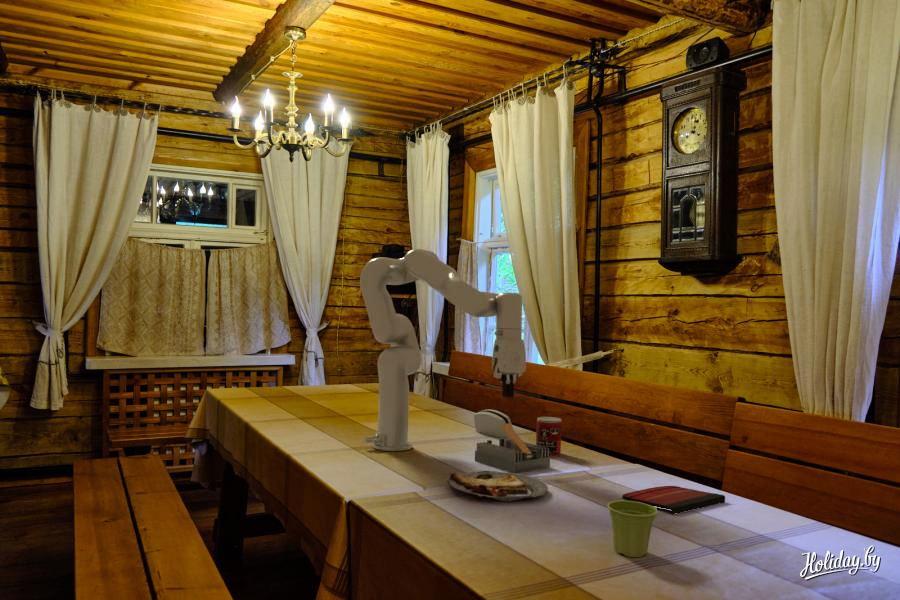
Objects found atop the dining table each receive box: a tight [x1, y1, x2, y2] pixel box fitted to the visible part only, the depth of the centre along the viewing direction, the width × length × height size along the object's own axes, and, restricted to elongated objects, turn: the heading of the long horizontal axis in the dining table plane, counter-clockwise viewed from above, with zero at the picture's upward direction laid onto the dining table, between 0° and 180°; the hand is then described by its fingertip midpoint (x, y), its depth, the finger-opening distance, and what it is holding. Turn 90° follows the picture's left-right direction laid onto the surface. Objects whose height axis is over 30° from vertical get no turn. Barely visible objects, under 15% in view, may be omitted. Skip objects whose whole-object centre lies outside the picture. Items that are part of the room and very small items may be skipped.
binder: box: [621, 485, 726, 515], centre depth 174 cm, size 16×2×21 cm
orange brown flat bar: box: [501, 423, 532, 456], centre depth 204 cm, size 3×12×1 cm
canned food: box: [535, 416, 563, 457], centre depth 221 cm, size 8×8×11 cm
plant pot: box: [607, 499, 659, 558], centre depth 136 cm, size 9×9×9 cm
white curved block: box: [473, 409, 514, 440], centre depth 249 cm, size 17×5×10 cm, turn 40°
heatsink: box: [474, 438, 551, 474], centre depth 205 cm, size 14×17×6 cm
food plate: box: [447, 470, 549, 503], centre depth 177 cm, size 25×23×4 cm
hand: (508, 396), depth 208 cm, fingers closed
